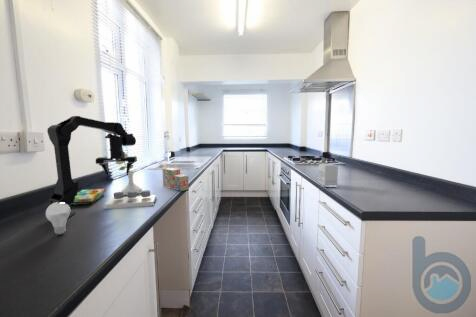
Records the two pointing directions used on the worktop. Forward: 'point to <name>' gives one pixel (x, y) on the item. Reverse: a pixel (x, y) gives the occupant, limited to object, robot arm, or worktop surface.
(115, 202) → the button board
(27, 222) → the worktop surface
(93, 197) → the puzzle game
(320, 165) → the supplement box
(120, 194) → the button near
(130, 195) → the button middle
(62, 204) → the light bulb
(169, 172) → the stack of blocks
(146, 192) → the button far
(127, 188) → the flower in vase
